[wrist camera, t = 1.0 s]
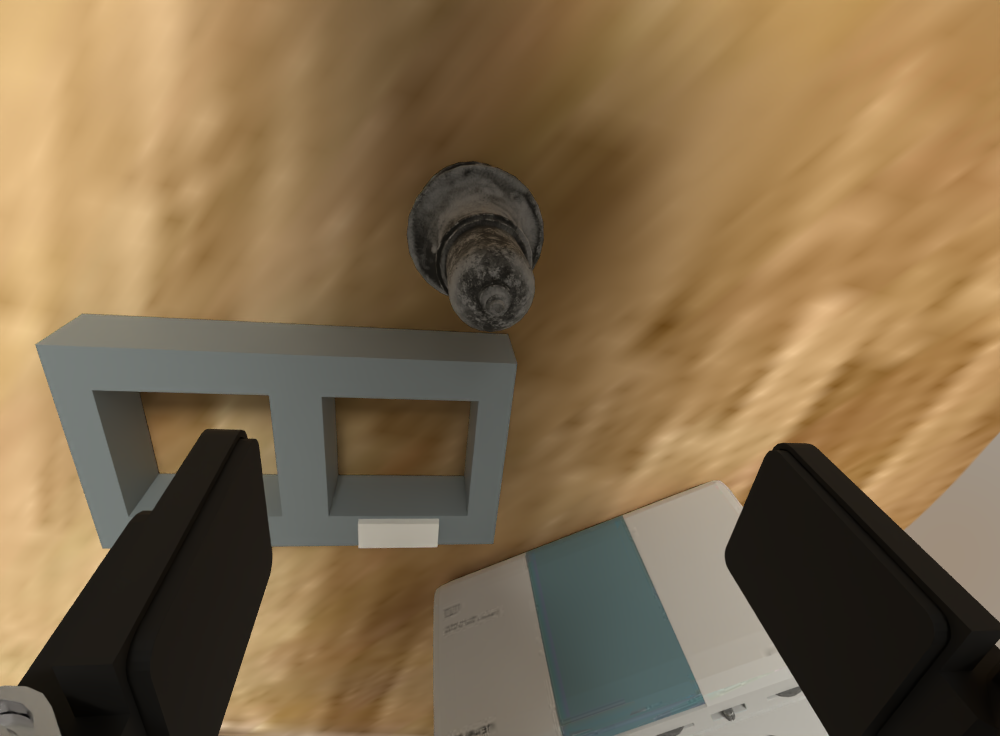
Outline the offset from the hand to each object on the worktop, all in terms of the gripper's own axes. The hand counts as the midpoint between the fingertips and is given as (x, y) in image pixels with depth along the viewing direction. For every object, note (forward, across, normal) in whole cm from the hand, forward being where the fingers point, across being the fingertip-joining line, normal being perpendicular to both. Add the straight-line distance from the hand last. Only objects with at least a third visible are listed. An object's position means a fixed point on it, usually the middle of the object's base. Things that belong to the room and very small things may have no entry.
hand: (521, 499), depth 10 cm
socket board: (+19, +8, +11) cm, 23 cm away
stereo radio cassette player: (+19, -10, +22) cm, 31 cm away
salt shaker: (+19, 0, -1) cm, 19 cm away
